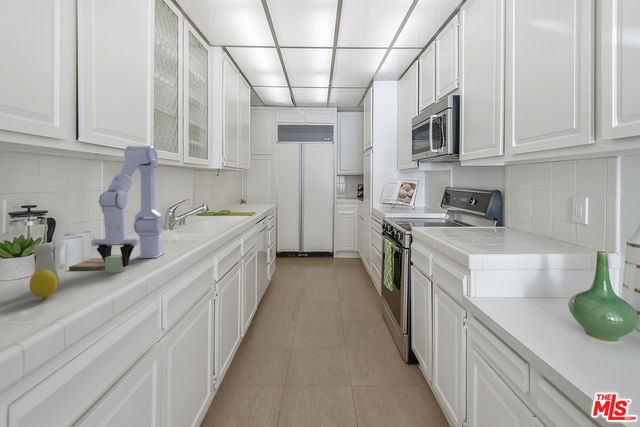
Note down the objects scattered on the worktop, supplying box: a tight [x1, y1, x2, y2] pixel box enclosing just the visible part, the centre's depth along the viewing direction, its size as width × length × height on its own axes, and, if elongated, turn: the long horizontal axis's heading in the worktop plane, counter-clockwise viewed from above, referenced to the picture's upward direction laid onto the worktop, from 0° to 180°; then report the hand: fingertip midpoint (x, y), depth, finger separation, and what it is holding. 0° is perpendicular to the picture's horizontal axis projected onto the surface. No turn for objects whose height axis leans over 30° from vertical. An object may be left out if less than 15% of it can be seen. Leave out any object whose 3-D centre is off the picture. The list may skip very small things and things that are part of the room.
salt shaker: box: [33, 242, 60, 286], centre depth 94 cm, size 6×6×13 cm
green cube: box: [104, 254, 129, 273], centre depth 115 cm, size 5×5×5 cm
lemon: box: [29, 269, 58, 300], centre depth 87 cm, size 6×6×8 cm
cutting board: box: [68, 257, 105, 271], centre depth 122 cm, size 13×11×1 cm
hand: (117, 266), depth 115 cm, fingers closed on green cube, 5 cm apart
